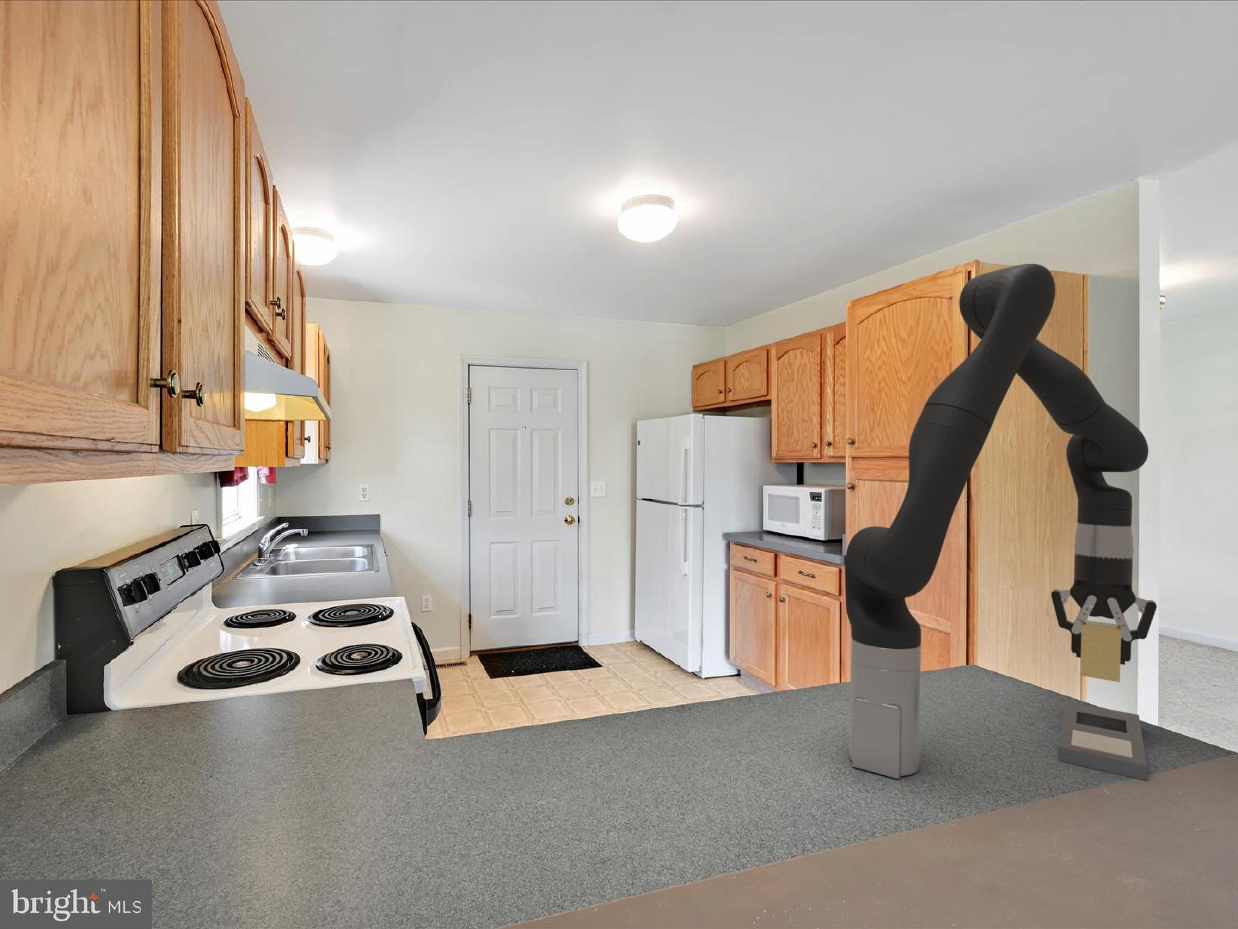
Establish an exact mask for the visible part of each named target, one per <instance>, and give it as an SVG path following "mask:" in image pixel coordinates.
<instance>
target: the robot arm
mask: <svg viewBox="0 0 1238 929" xmlns="http://www.w3.org/2000/svg"><path fill="white" fill-rule="evenodd" d="M1055 282H1056V281H1055V277H1054V276H1053V274H1052V272H1051V271H1050V270H1049V268H1047V267H1046V266H1043V265H1041V264H1037V263H1023V264H1018V265H1013V266H1009V267H1003V268H1000V269H997V270H993V271H989V272H985V273H983V274H979V275H977V276H975V277H973V278H970V280H969V281H967V282H966V283H965V285H963V288H962V290H961V291H960V294H959V299H958V305H959V306H958V307H959V312H960V315H961V317H962V319H963V321H964V323H965V324H966V326H967V327H968V328H969V329H970V330H971V331H972V333H973V334H974V335H976V337H978V338H979V339H980V341H979V343H978V344H977V346H976V347H975V348H974V349H973V350H972V352H971V353H970V354H969V355H968V356H967V357H966V358H965V359H964V360H963V361H962V362H961V363H960V364H959V365H958V366H956V367H955V369H954V370H952V371H951V372H950V373H949V375H947V376H946V377H945V378H944V379H943V380H942V381H941V382H940V383H939V384H938V386H937V387H936V388H935V389H934V390H933V391H932V393H931V394H930V395H929V397H928V399H927V400H926V402H925V404H924V406H923V408H922V410H921V413H920V414H919V417H918V418H917V421H916V423H915V425H914V428H913V430H912V433H911V436H910V439H909V445H908V483H907V484H908V485H907V489H906V493H905V495H904V498H903V501H902V503H901V505H900V507H899V509H898V512H897V513H896V516H895V518H894V519H893V521H892V523H891V524H890V526H889V527H885V526H877V525H876V526H868V527H864V528H862V529H860V530H858V532H856V533H855V534H854V535H853V536H852V538H851V540H850V541H849V543H848V546H847V548H846V552H845V557H844V558H845V561H844V584H845V585H844V586H845V590H844V592H845V610H846V611H845V612H846V615H847V618H848V622H849V624H850V632H851V634H850V638H851V640H850V642H851V643H850V683H849V684H850V685H849V686H850V688H849V690H850V691H849V695H850V696H849V698H850V699H849V700H850V701H849V746H848V747H849V749H848V750H849V754H848V755H849V756H848V757H849V759H850V760H851V763H852V764H851V766H852V767H853V768H857V769H861V770H865V771H868V772H872V773H876V774H879V775H883V776H887V777H888V778H889V777H890V778H893V779H900V778H901V777H903V776H910V775H913V774H916V773H917V772H918V771H919V770H920V741H921V740H920V733H921V732H920V731H921V730H920V728H921V726H920V724H921V722H920V721H921V719H920V718H921V668H922V666H921V665H922V664H921V663H922V662H921V660H922V628H921V624H920V623H919V621H918V620H916V618H915V616H914V615H913V614H912V613H911V611H910V610H909V608H908V605H907V602H906V598H910V597H913V596H915V595H917V594H918V593H920V592H921V591H922V590H924V588H925V587H926V586H927V585H928V583H929V582H930V580H931V578H932V576H933V575H934V572H935V570H936V567H937V564H938V562H939V558H940V555H941V554H942V553H941V552H942V550H943V546H944V542H945V540H946V537H947V536H946V535H947V533H948V530H949V527H950V524H951V521H952V518H953V516H954V512H955V510H956V507H957V505H958V503H959V500H960V498H961V496H962V493H963V492H964V489H965V487H966V484H967V482H968V479H969V477H970V474H971V472H972V470H973V468H974V465H975V464H976V461H977V460H978V458H979V455H980V454H981V452H982V450H983V447H984V445H985V442H986V440H987V439H988V436H989V434H990V432H991V430H992V427H993V425H994V422H995V420H996V417H997V414H998V412H999V409H1000V407H1001V405H1002V404H1003V401H1004V399H1005V397H1006V395H1007V393H1008V391H1009V389H1010V388H1011V385H1012V384H1013V380H1014V378H1015V377H1016V375H1017V376H1018V377H1019V378H1020V379H1021V380H1022V381H1023V382H1024V383H1025V384H1026V385H1027V387H1028V388H1029V389H1030V390H1031V391H1032V392H1033V393H1034V394H1035V396H1036V397H1037V398H1038V400H1039V401H1040V402H1041V404H1042V405H1043V407H1044V408H1045V410H1046V411H1047V413H1048V415H1049V416H1050V417H1051V418H1052V420H1053V422H1055V424H1056V425H1057V426H1058V428H1059V429H1060V430H1061V431H1062V432H1064V433H1066V434H1069V435H1072V436H1071V437H1070V439H1069V441H1068V443H1067V445H1066V450H1065V453H1066V462H1067V466H1068V468H1069V471H1070V475H1071V479H1072V482H1073V486H1074V489H1075V494H1076V497H1077V517H1076V518H1077V522H1076V523H1077V524H1076V529H1075V530H1076V531H1075V536H1074V547H1073V548H1074V560H1073V562H1074V564H1073V584H1072V586H1071V587H1070V589H1061V590H1060V589H1057V588H1056V589H1053V590H1052V591H1051V593H1050V595H1051V600H1052V604H1053V609H1054V611H1055V616H1056V621H1057V624H1058V626H1059V627H1060V628H1061V629H1065V630H1067V631H1069V632H1070V634H1071V644H1070V646H1071V648H1070V651H1071V653H1072V654H1075V656H1076V658H1078V659H1079V658H1080V659H1081V630H1082V624H1085V622H1086V620H1088V618H1089V617H1093V618H1098V617H1103V618H1105V619H1107V620H1109V619H1110V620H1114V621H1115V624H1117V626H1118V628H1119V629H1121V655H1120V665H1123V666H1125V665H1126V662H1131V660H1132V643H1133V641H1135V640H1146V638H1147V637H1148V634H1149V631H1150V628H1151V626H1152V622H1153V620H1154V616H1155V614H1156V611H1157V608H1158V606H1157V603H1156V602H1155V601H1154V600H1153V599H1144V598H1141V597H1138V596H1136V594H1135V592H1134V591H1133V569H1134V568H1133V567H1134V566H1133V563H1134V562H1133V561H1134V537H1133V530H1132V528H1133V527H1132V525H1133V524H1132V522H1133V520H1132V518H1133V515H1132V514H1133V498H1132V497H1133V496H1132V494H1131V493H1130V492H1129V491H1128V490H1126V489H1124V488H1121V487H1115V486H1112V485H1110V484H1108V482H1107V481H1106V478H1105V476H1104V474H1103V473H1130V472H1134V471H1136V470H1139V469H1140V468H1142V467H1143V465H1144V464H1145V463H1146V462H1147V460H1148V457H1149V445H1148V442H1147V439H1146V437H1145V435H1144V434H1143V432H1142V431H1141V430H1140V429H1139V428H1138V426H1136V425H1135V424H1134V423H1133V422H1132V421H1130V420H1129V419H1128V418H1126V417H1125V416H1124V415H1123V414H1121V413H1120V412H1118V410H1116V409H1115V408H1113V407H1112V406H1110V405H1109V404H1107V403H1106V401H1105V400H1104V398H1103V396H1102V395H1101V393H1100V392H1099V390H1098V389H1097V388H1096V386H1095V385H1094V383H1093V382H1092V380H1091V379H1090V378H1089V376H1088V375H1087V374H1086V373H1085V372H1084V371H1083V370H1082V369H1081V368H1080V367H1079V366H1077V365H1076V364H1075V363H1074V362H1072V361H1071V360H1070V359H1067V358H1066V357H1064V356H1063V355H1061V354H1059V353H1058V352H1057V351H1054V350H1053V349H1052V348H1050V347H1049V346H1047V345H1045V344H1044V343H1042V342H1041V341H1040V340H1039V339H1037V338H1038V336H1039V334H1040V333H1041V332H1042V329H1043V327H1044V326H1045V324H1046V323H1047V320H1048V318H1049V317H1050V314H1051V313H1052V310H1053V308H1054V307H1053V306H1054V304H1055V299H1056V283H1055ZM1069 597H1071V598H1072V599H1073V600H1074V602H1075V603H1076V604H1077V606H1079V608H1080V609H1079V612H1078V614H1077V616H1076V618H1075V619H1074V622H1072V621H1070V620H1068V617H1067V615H1066V614H1067V613H1066V609H1065V606H1064V605H1065V604H1067V603H1068V598H1069ZM1134 604H1135V605H1136V606H1137V610H1138V612H1139V613H1140V614H1141V616H1140V619H1139V622H1138V624H1137V627H1136V629H1131V630H1130V628H1129V625H1128V624H1127V620H1126V618H1125V615H1124V614H1125V613H1126V611H1128V610H1129V609H1130V607H1132V606H1133V605H1134Z"/></svg>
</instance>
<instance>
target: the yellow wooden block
mask: <svg viewBox="0 0 1238 929" xmlns="http://www.w3.org/2000/svg"><path fill="white" fill-rule="evenodd" d="M1120 655H1121V629H1119V628H1118V626H1117V624H1116V623H1111V622H1103V621H1102V622H1101V621H1095V620H1088V619H1087V620H1086V622H1085V624H1082V630H1081V658H1080V669H1079V670H1080V674H1079V676H1082V677H1087V678H1093V679H1100V680H1104V681H1105V680H1106V681H1110V682H1116V683H1120V681H1121V664H1120Z"/></svg>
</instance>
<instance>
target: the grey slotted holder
mask: <svg viewBox="0 0 1238 929" xmlns="http://www.w3.org/2000/svg"><path fill="white" fill-rule="evenodd" d="M1131 718H1132V719H1131ZM1060 728H1061V729H1060V733H1059V739H1058V740H1059V741H1058V746H1057V747H1058V748H1057V749H1058V750H1057V761H1058V762H1063V763H1067V764H1071V765H1076V766H1080V767H1085V768H1090V769H1094V770H1099V771H1102V772H1106V773H1107V772H1108V773H1110V774H1116V775H1120V776H1125V777H1129V778H1133V779H1137V780H1142V781H1146V782H1147V780H1148V779H1147V777H1148V763H1147V759H1146V758H1147V757H1146V751H1145V746H1144V739H1143V732H1142V726H1141V720H1140V715H1139V714H1137V713H1131V712H1126V711H1121V710H1117V709H1116V710H1115V709H1109V708H1104V707H1098V706H1093V705H1087V704H1083V703H1078V702H1071V701H1066V700H1065V702H1064V708H1063V717H1062V721H1061V727H1060Z"/></svg>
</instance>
